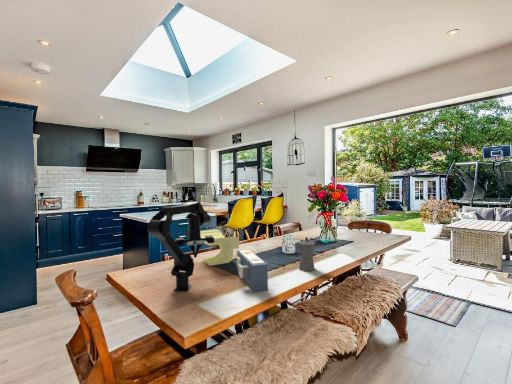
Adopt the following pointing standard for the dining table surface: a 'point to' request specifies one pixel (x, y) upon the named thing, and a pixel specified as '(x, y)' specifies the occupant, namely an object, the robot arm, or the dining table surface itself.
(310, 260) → the coffeepot
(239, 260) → the button far
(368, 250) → the dining table surface
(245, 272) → the button near
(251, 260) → the switch box
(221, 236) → the slatted curved stool
